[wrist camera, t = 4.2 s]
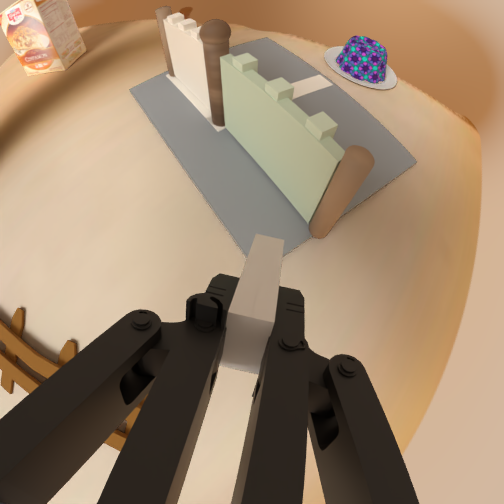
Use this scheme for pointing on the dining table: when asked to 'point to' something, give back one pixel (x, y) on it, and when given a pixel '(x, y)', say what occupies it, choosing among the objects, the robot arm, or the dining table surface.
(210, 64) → the hinge post
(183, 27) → the fixed panel
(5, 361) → the decorative fence
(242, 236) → the card
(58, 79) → the dining table surface
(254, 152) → the panel
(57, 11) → the coffeecake box
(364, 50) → the pudding
